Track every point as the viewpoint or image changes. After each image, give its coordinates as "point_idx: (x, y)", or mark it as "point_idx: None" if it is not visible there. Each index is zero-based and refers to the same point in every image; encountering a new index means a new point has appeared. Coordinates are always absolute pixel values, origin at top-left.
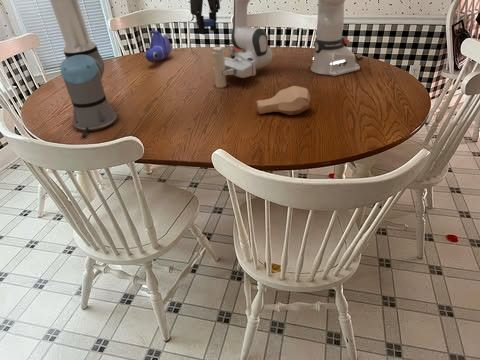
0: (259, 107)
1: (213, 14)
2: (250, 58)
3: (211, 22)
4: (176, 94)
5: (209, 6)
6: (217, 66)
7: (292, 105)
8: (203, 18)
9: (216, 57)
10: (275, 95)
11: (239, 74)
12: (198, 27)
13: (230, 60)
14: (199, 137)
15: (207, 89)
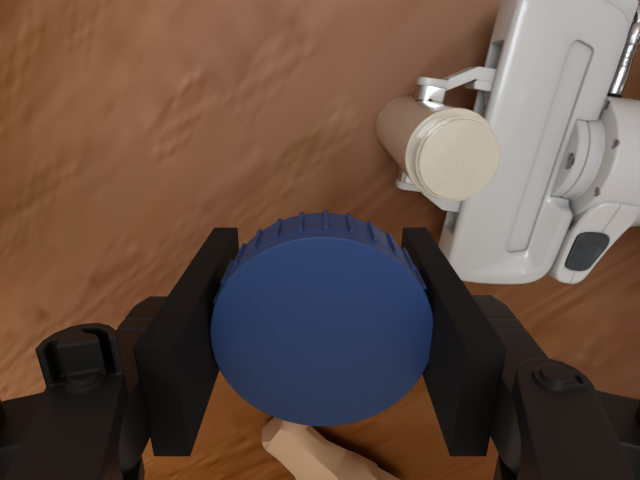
0: (263, 444)
1: (443, 431)
2: (601, 243)
3: (313, 413)
4: (181, 4)
5: (529, 455)
6: (393, 156)
7: None
8: (197, 422)
9: (402, 167)
10: (333, 476)
11: (441, 249)
12: (197, 260)
13: (577, 96)
14: (39, 374)
15: (328, 100)
